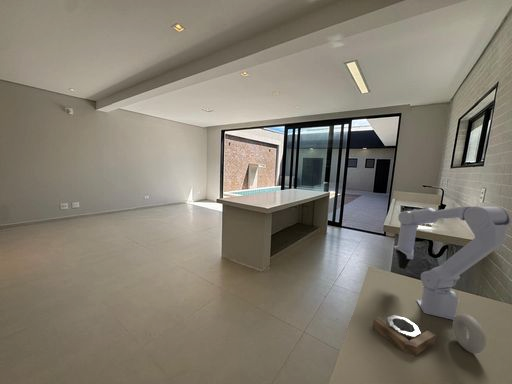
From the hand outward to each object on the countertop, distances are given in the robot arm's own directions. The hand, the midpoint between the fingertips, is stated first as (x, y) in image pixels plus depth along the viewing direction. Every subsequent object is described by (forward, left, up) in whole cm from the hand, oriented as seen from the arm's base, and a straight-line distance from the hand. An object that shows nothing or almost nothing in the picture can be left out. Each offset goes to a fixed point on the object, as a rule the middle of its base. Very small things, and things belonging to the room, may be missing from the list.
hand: (402, 267), depth 94 cm
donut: (-10, +29, -10) cm, 32 cm away
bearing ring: (+7, +31, -9) cm, 33 cm away
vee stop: (+7, +34, -9) cm, 36 cm away
